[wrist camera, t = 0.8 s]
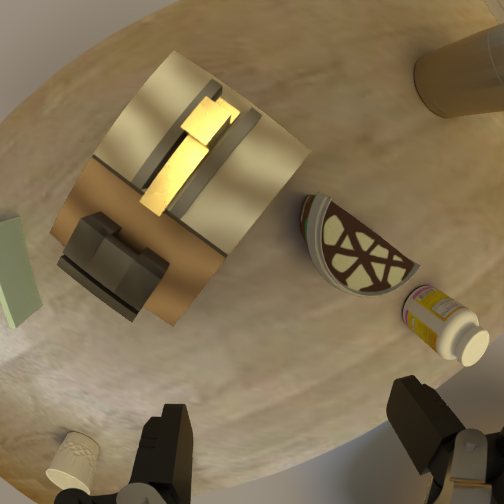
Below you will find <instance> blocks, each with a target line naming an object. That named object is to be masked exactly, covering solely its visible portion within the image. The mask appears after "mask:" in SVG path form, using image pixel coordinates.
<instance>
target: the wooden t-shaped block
mask: <svg viewBox="0 0 504 504" xmlns="http://www.w3.org/2000/svg"><path fill="white" fill-rule="evenodd" d="M239 116H240V112H239V111H238V110H237V109H235V108H234V107H233V106H231V105H230V104H228V103H227V102H226V101H224V100H223V99H222V98H220V97H219V98H218V100H217V101H216V102H214V101H213V100H211V99H210V98H208V97H207V96H206V97H205V98H204V99H203V100H202V101H201V102H200V104H199V105H198V106H197V107H196V108H195V110H194V111H193V112H192V113H191V114H190V116H189V117H188V118H187V119H186V121H185V122H184V123H183V124H182V125H181V128H182V129H183V130H184V131H185V132H186V133H187V134H188V136H187V137H186V138H185V139H184V141H183V142H182V143H181V145H180V146H179V147H178V148H177V150H176V151H175V152H174V154H173V155H172V156H171V158H170V159H169V160H168V162H167V163H166V164H165V166H164V167H163V168H162V170H161V171H160V173H159V174H158V175H157V177H156V178H155V180H154V181H153V182H152V184H151V185H150V187H149V188H148V189H147V191H146V192H145V194H144V195H143V197H142V198H141V200H140V201H139V202H140V203H142V204H143V205H144V206H146V207H147V208H148V209H150V210H151V211H152V212H154V213H155V214H156V215H158V216H159V217H160V216H161V215H163V214H164V213H165V212H166V210H167V209H168V207H169V206H170V205H171V203H172V202H173V200H174V199H175V198H176V196H177V195H178V194H179V192H180V191H181V190H182V188H183V187H184V185H185V184H186V183H187V181H188V180H189V179H190V177H191V176H192V175H193V174H194V172H195V171H196V170H197V168H198V167H199V166H200V164H201V163H202V162H203V161H204V159H205V158H206V157H207V156H208V154H209V153H210V152H211V151H212V149H213V148H214V147H215V146H216V144H217V143H218V142H219V141H220V139H221V138H222V137H223V136H224V134H225V133H226V132H227V131H228V130H229V128H230V127H231V126H232V125H233V124H234V122H235V121H236V120H237V119H238V118H239Z"/></svg>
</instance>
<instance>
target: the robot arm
mask: <svg viewBox="0 0 504 504" xmlns="http://www.w3.org/2000/svg"><path fill="white" fill-rule="evenodd" d="M414 80H415V84H416V87H417V90H418V93H419V95H420V97H421V98H422V100H423V102H424V103H425V104H426V106H427V107H428V108H429V109H430V110H431V111H432V112H434V113H435V114H437V115H439V116H441V117H444V118H452V117H459V116H466V115H474V114H482V113H491V112H500V111H504V23H502V24H499V25H496V26H494V27H491V28H489V29H486V30H483V31H481V32H478V33H476V34H473V35H471V36H468V37H466V38H463V39H461V40H459V41H456V42H454V43H452V44H449V45H447V46H445V47H443V48H440V49H438V50H436V51H433V52H431V53H429V54H427V55H425V56H423V57H421V58H420V59H419V60H418V61H417V63H416V65H415V70H414ZM386 412H387V417H388V420H389V422H390V423H391V425H392V427H393V428H394V430H395V432H396V434H397V435H398V437H399V439H400V440H401V442H402V444H403V446H404V447H405V449H406V451H407V453H408V454H409V456H410V458H411V460H412V461H413V463H414V465H415V467H416V469H417V471H418V472H419V474H420V475H423V474H425V473H428V472H431V474H432V477H431V478H430V482H429V485H428V489H427V493H426V497H425V500H424V503H423V504H504V427H503V429H502V430H501V432H498V433H493V434H487V435H484V434H483V433H482V432H481V431H479V430H476V429H466V428H465V427H464V426H463V424H462V423H461V422H460V420H459V419H458V418H457V417H456V415H455V414H454V413H453V412H452V411H451V409H450V408H449V407H448V406H446V403H445V402H444V401H443V400H441V397H440V396H439V394H438V393H437V392H436V391H435V390H434V389H433V388H431V387H429V386H428V385H426V384H421V383H420V382H419V381H418V379H417V378H416V377H415V376H414V375H410V376H406V377H402V378H399V379H396V380H395V381H394V383H393V386H392V390H391V393H390V397H389V400H388V403H387V408H386ZM192 453H193V432H192V427H191V424H190V420H189V416H188V412H187V408H186V405H185V404H165V405H164V407H163V412H162V416H161V417H151V418H150V419H149V421H148V422H147V423H146V424H145V425H144V427H143V431H142V435H141V439H140V442H139V448H138V450H137V454H136V458H135V462H134V466H133V470H132V475H131V479H130V481H129V483H128V485H126V486H124V487H123V488H122V489H121V490H120V491H119V492H117V493H115V494H110V495H100V496H89V495H88V494H87V493H86V492H85V491H83V490H81V489H78V488H68V489H65V490H63V491H61V492H60V493H59V494H58V495H57V496H56V498H55V501H54V504H189V492H190V478H191V465H192Z"/></svg>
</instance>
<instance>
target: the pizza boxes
mask: <svg viewBox="0 0 504 504" xmlns="http://www.w3.org/2000/svg"><path fill="white" fill-rule="evenodd" d="M484 2H485V3H486V5H487V6H488V8H489V9H490V11H491V12H492V14H493V16H494V17H495V19H496V21H497V22H498V24H502V23H504V0H484Z"/></svg>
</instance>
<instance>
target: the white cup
mask: <svg viewBox="0 0 504 504" xmlns="http://www.w3.org/2000/svg"><path fill="white" fill-rule="evenodd" d="M99 453H100V450H99V447H98V445H97V444H96V443H95V442H94V441H93V440H92V439H90V438H89V437H88V436H85V435H83V434H81V433H77V432H70V433H68V434H67V435H66V437H65V439H64V441H63V442H62V443H61V445H60V447H59V448H58V450H57V452H56V453H55V455H54V457H53V459H52V461H51V463H50V465H49V467H48V468H47V470H46V474H47V476H48V478H49V479H50V480H51V481H52V482H53V483H54V484H56V485H57V486H58V487H60V488H62V489H63V490H65V489H68V488H78V489H81V490H83V491H85V492H86V493H87V494H88V495H89V494H90V491H91V487H92V483H93V479H94V475H95V470H96V466H97V460H98V457H99Z"/></svg>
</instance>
